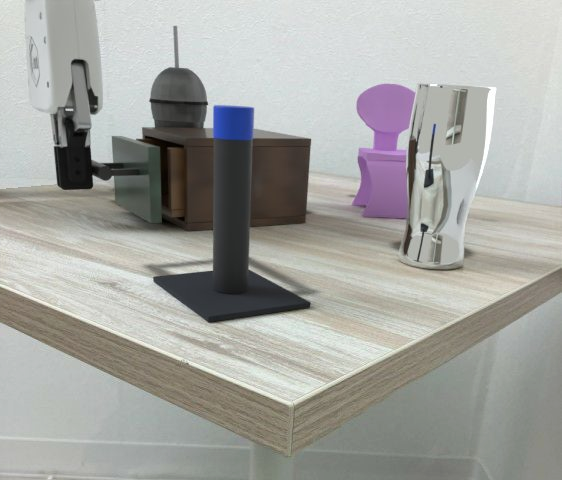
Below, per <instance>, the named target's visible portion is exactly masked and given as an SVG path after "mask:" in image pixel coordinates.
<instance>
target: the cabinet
mask: <svg viewBox="0 0 562 480" xmlns="http://www.w3.org/2000/svg"><path fill="white" fill-rule="evenodd" d="M141 135H142V138H141V139H161V140H165V141H168V142H172V143H176V144H180V145H184V192H185V217H174V218H172V217H170V216H168V215H166V214H164V213H162V220H163V219H164V220H166V221H167V222H169V223H171V224H173V225H175V226H177V227H179V228H180V229H183V230H184V231H187V232H194V231H208V230H209V231H210V230H213V189H214V137H213V127H204V128H167V127H155V126H142V127H141ZM311 146H312V138H310V137H304V136H299V135H294V134H287V133H281V132H275V131H270V130H264V129H259V128H254V135H253V143H252V175H251V207H250V228H252V227H265V226H281V225H295V224H296V225H297V224H306V222H307V208H308V207H307V206H308V193H309V179H310V177H309V176H310V161H311Z"/></svg>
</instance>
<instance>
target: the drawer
mask: <svg viewBox="0 0 562 480" xmlns="http://www.w3.org/2000/svg"><path fill="white" fill-rule="evenodd" d="M111 150H112V152H111V153H112V162H98V161H96V160H93V159H91V160H92V174H93V177H95V178H98V179H99V180H101V181H106V182H107V181H110V180H111V179H112V178H113V187H114V188H113V189H114V203H115V204H116V206H119V207H120V208H122V209H125V210H126V211H128V212H130V213H132V214H134V215H135V216H137V217H139V218H140V219H143V220H144V221H146V222H148V223H150V224H160V223H161V224H162V223H163V218H162V213H164V214H166V215H168V216H170V217H172V218H174V217H185V192H184V145H180V144H176V143H172V142H168V141H165V140H161V139H143V138H135V139H134V138H130V137H126V136H124V135H111Z"/></svg>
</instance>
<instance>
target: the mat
mask: <svg viewBox="0 0 562 480" xmlns="http://www.w3.org/2000/svg"><path fill="white" fill-rule="evenodd" d="M152 282H154V283H155V284H156V285H157V286H159V287H160V288H161V289H163V290H164V291H165V292H167V293H169V294H170V295H171V296H172V297H174V298H175V299H177V300H178V301H179V302H181V303H182V304H183V305H184V306H186V307H187V308H188V309H190V310H191V311H193V312H194V313H195V314H197V315H198V316H199V317H201V318H202V319H204V320H205V321H206V322H207V323H213V322H219V321H227V320H235V319H240V318H241V319H242V318H247V317H254V316H260V315H267V314H274V313H282V312H288V311H293V310H302V309H309V308H311V305H312V304H311V301H309V300H308V299H305V298H303V297H302V296H299V295H298V294H296V293H294V292H292V291H290V290H288V289H286V288H284V287H283V286H281V285H279V284H277V283H275V282H273V281H272V280H270V279H268V278H266V277H264V276H262V275H261V274H258V273H256V272H254V271H252V270H251V269H249V271H248V290H247V291H246V292H244V293H240V294H224V293H219V292H216V291H214V290H213V270H204V271H195V272H186V273H175V274H174V273H173V274H167V275H157V276H153V277H152Z"/></svg>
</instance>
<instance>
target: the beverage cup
mask: <svg viewBox="0 0 562 480" xmlns="http://www.w3.org/2000/svg"><path fill="white" fill-rule="evenodd" d="M172 31H173V52H174V53H173V54H174V58H173V59H174V67H173V66H171V67H170V66H169V67H166V68H164V69H163V70H162V71H161V72H160V73H158V75H157V76H156V77H155V78H154V81H153V83H152V85H151V88H150V98H149V100H148V102H149V103H150V110H151V115H152V119H153V122H154V127H167V128H205V127H204V126H205V122H206V118H207V112H208V106H209V102H208V96H207V90H206V88H205V85H204V83H203V82H202V80H201V78H200V77H199V76H198V74H196V72H194V71H193V70H191V69H189V68H187V67H180V59H179V35H178V25H173V26H172Z"/></svg>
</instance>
